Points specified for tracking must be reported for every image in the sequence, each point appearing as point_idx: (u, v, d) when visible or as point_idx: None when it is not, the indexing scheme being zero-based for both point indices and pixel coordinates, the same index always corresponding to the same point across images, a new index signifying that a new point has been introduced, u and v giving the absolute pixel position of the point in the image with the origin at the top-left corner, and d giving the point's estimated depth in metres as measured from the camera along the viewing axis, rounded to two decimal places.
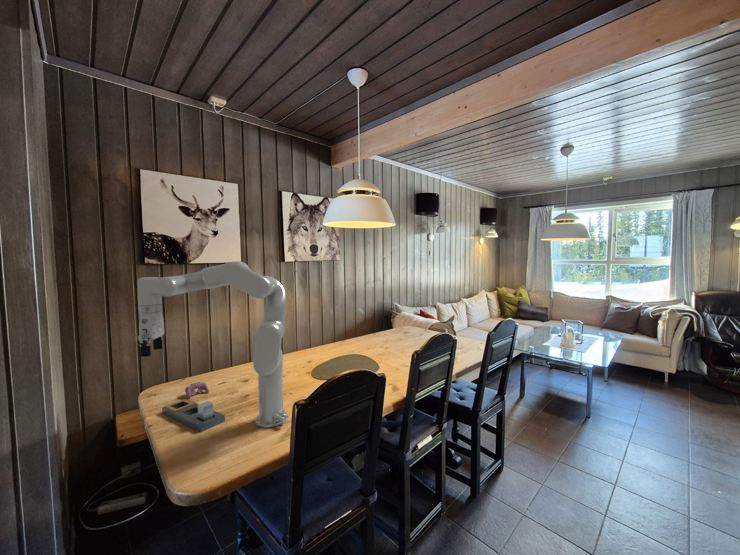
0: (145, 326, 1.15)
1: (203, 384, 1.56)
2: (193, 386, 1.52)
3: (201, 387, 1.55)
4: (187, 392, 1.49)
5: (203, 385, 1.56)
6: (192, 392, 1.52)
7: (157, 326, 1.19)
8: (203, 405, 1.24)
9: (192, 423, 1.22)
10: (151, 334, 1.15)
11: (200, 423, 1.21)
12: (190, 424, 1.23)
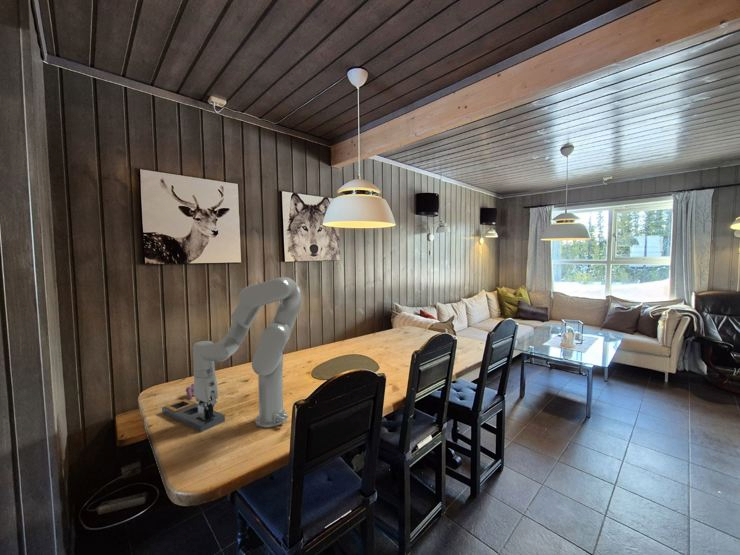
0: (212, 388, 1.23)
1: None
2: None
3: None
4: (188, 392, 1.49)
5: None
6: (193, 392, 1.52)
7: None
8: (203, 405, 1.24)
9: (192, 423, 1.22)
10: (217, 394, 1.25)
11: (200, 423, 1.21)
12: (190, 424, 1.23)
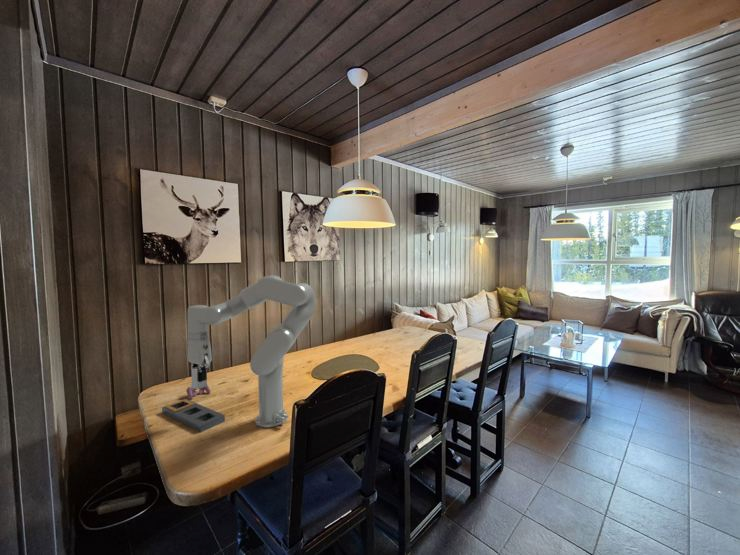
0: (206, 351, 1.24)
1: None
2: None
3: (202, 388, 1.55)
4: (188, 393, 1.49)
5: None
6: (193, 393, 1.51)
7: None
8: (197, 368, 1.25)
9: (192, 423, 1.22)
10: (211, 357, 1.26)
11: (200, 423, 1.21)
12: (190, 424, 1.23)
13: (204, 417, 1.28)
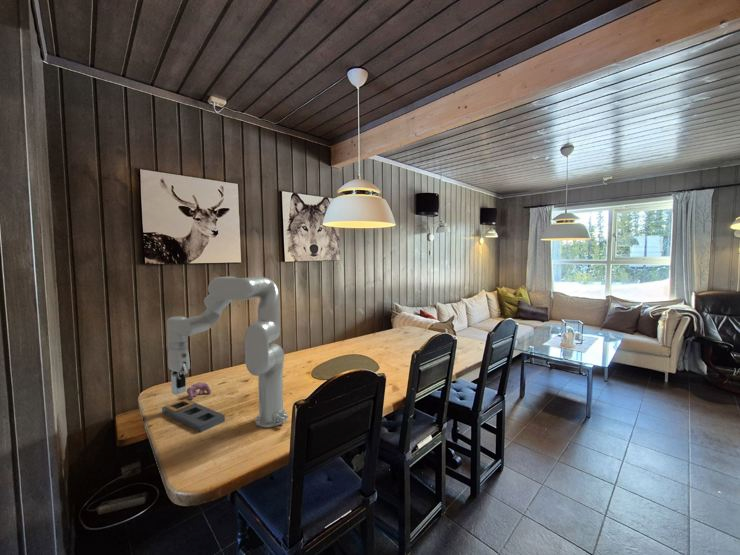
0: (184, 359, 1.33)
1: (205, 385, 1.55)
2: (195, 387, 1.51)
3: (203, 388, 1.54)
4: (189, 393, 1.48)
5: (205, 386, 1.55)
6: (194, 393, 1.51)
7: None
8: (176, 375, 1.34)
9: (192, 423, 1.22)
10: (189, 365, 1.35)
11: (200, 423, 1.21)
12: (190, 424, 1.23)
13: (204, 417, 1.28)
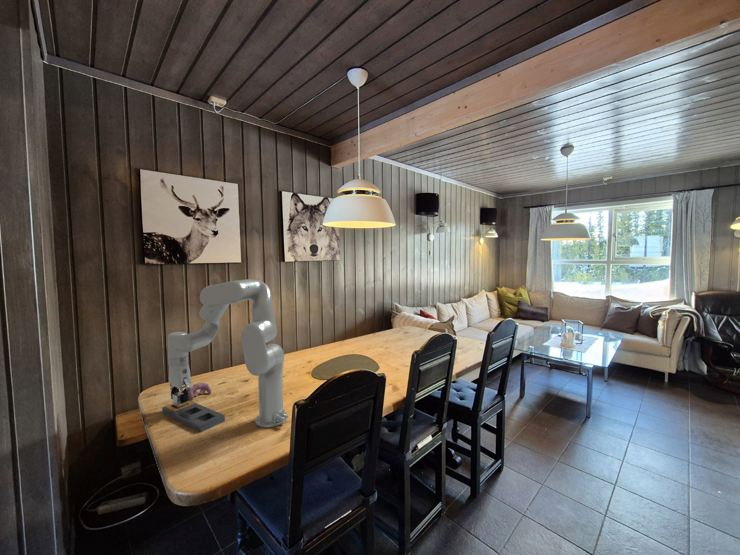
0: (185, 375, 1.33)
1: (205, 385, 1.55)
2: (195, 387, 1.51)
3: (203, 388, 1.54)
4: (189, 393, 1.48)
5: (205, 386, 1.54)
6: (194, 393, 1.51)
7: None
8: (177, 394, 1.35)
9: (192, 423, 1.22)
10: (190, 381, 1.35)
11: (200, 423, 1.21)
12: (190, 424, 1.23)
13: (204, 417, 1.28)
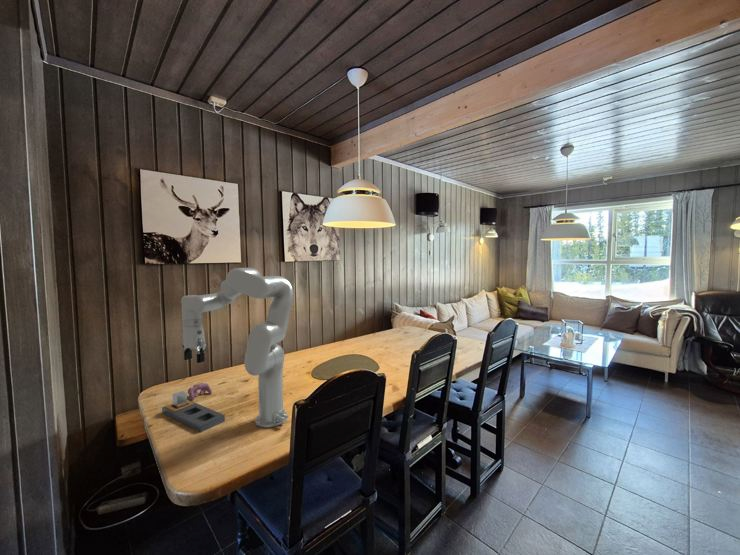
0: (200, 336, 1.35)
1: (206, 385, 1.54)
2: (196, 387, 1.51)
3: (204, 388, 1.54)
4: (190, 393, 1.48)
5: (206, 386, 1.54)
6: (195, 393, 1.51)
7: None
8: (177, 394, 1.35)
9: (192, 423, 1.22)
10: (204, 342, 1.37)
11: (200, 423, 1.21)
12: (190, 424, 1.23)
13: (204, 417, 1.28)
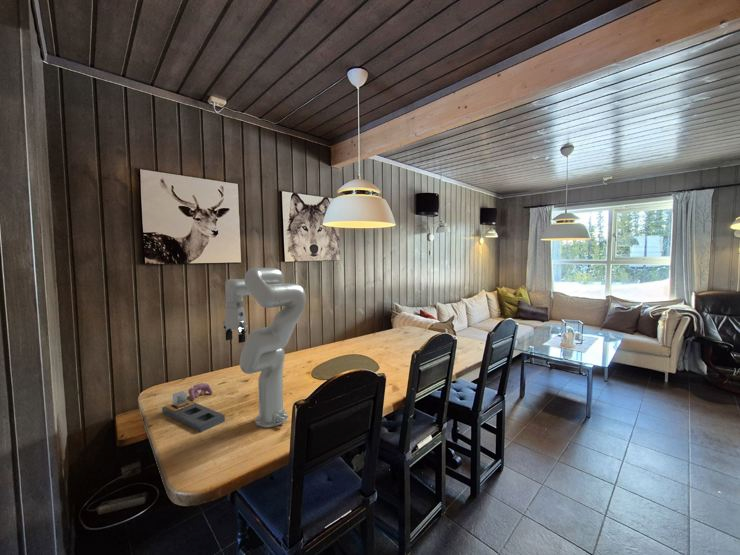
0: (242, 318, 1.44)
1: (206, 385, 1.54)
2: (196, 387, 1.50)
3: (204, 388, 1.54)
4: (190, 393, 1.48)
5: (206, 386, 1.54)
6: (195, 393, 1.50)
7: None
8: (177, 394, 1.35)
9: (192, 423, 1.22)
10: None
11: (200, 423, 1.21)
12: (190, 424, 1.23)
13: (204, 417, 1.28)
